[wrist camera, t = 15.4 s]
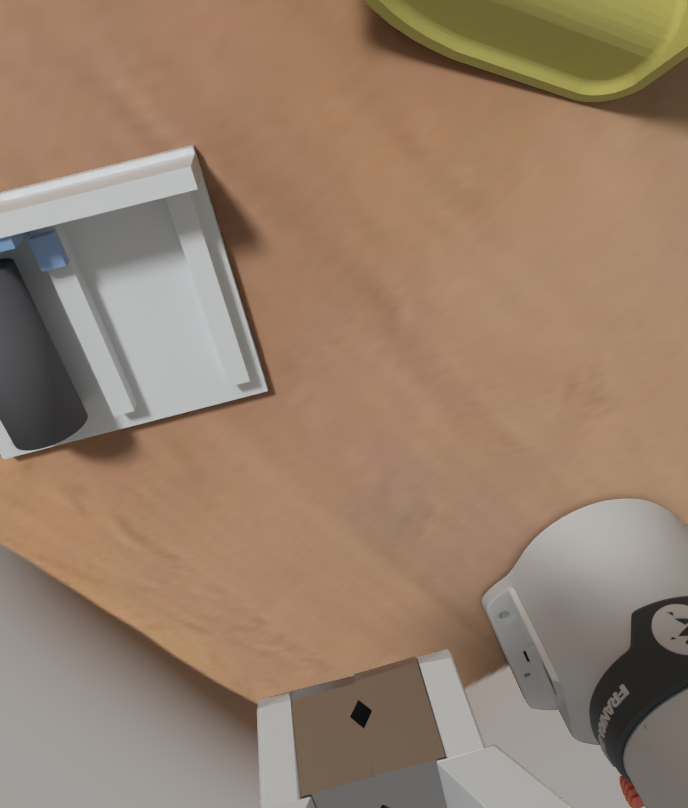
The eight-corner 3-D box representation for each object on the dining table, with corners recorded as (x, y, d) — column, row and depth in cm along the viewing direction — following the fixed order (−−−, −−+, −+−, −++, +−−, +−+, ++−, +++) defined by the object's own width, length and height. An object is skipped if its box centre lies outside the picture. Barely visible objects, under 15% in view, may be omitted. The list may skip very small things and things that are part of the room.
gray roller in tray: (99, 404, 37) (68, 445, 34) (36, 414, 38) (-1, 454, 35) (28, 253, 33) (-15, 282, 29) (-42, 266, 34) (-92, 297, 30)
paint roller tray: (267, 385, 40) (271, 425, 36) (7, 452, 39) (-20, 500, 35) (193, 144, 33) (188, 159, 29) (-124, 222, 32) (-176, 249, 28)
